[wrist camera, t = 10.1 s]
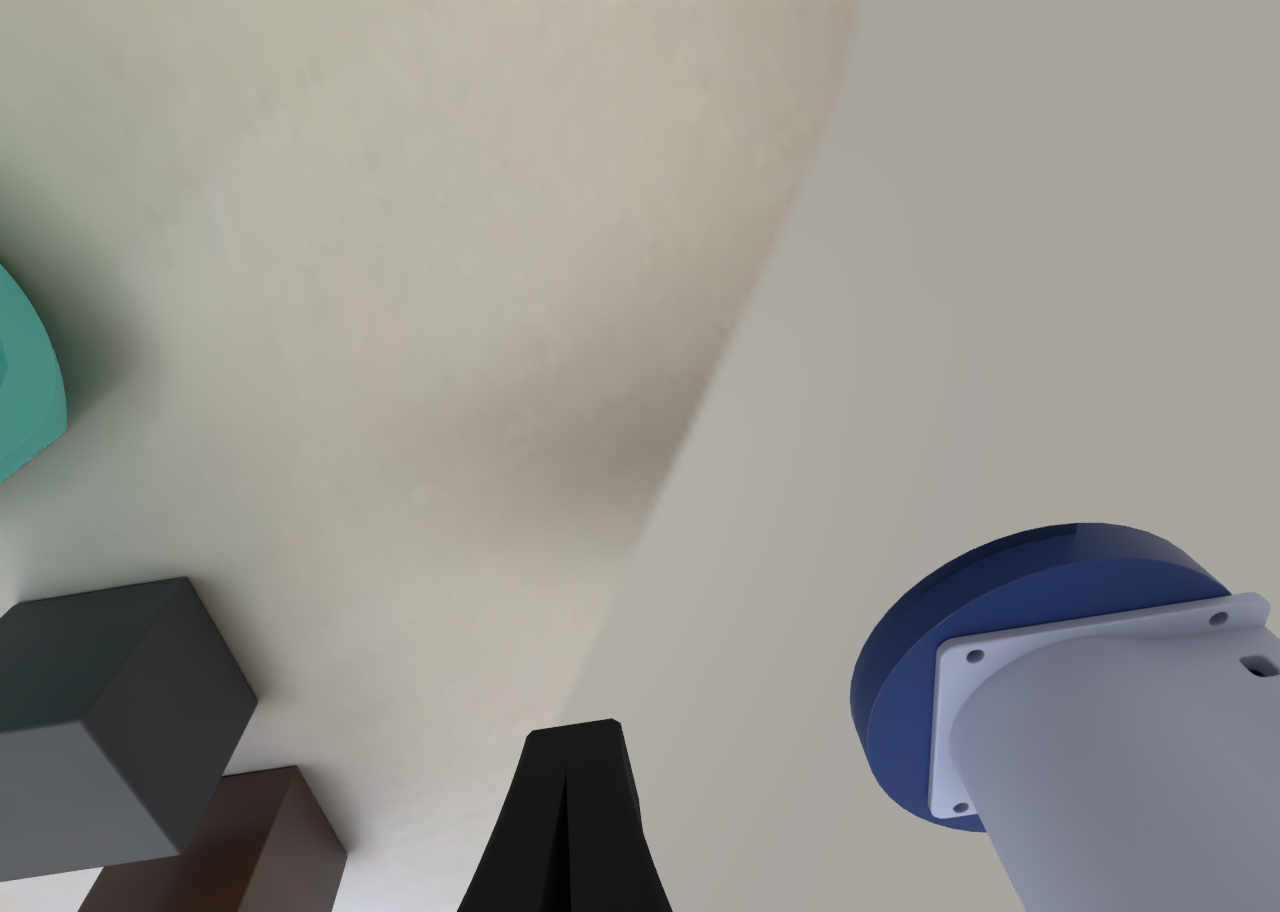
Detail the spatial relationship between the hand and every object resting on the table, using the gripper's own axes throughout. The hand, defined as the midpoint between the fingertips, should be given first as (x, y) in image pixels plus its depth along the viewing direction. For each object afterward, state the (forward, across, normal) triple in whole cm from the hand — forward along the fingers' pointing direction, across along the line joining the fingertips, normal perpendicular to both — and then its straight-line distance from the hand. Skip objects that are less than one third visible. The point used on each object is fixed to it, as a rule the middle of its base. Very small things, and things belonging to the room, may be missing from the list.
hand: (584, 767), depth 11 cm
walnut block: (+9, +14, +12) cm, 21 cm away
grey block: (+9, +14, +4) cm, 17 cm away
